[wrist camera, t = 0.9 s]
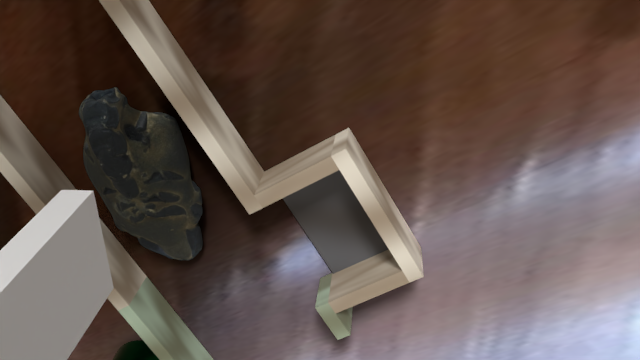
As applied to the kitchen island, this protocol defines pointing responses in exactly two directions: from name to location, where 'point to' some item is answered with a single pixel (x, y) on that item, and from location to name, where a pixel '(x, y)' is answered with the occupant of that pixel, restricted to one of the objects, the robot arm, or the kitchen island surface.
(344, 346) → the kitchen island surface
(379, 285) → the channel
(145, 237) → the stone
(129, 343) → the soda can
